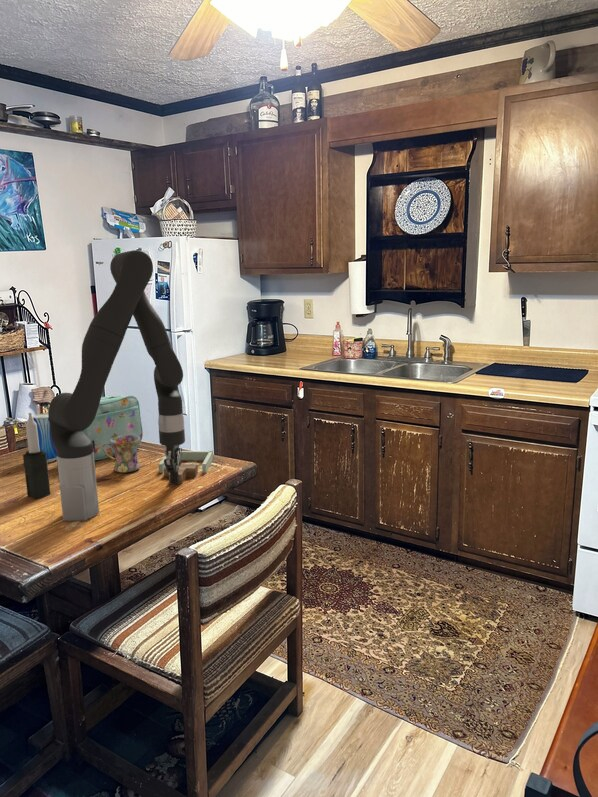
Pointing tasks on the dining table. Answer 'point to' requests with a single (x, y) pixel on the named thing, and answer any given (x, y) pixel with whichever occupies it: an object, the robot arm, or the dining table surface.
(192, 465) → the t block
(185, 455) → the bay
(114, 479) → the dining table surface
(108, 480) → the dining table surface
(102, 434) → the lunch box
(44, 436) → the beer can
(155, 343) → the robot arm
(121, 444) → the mug
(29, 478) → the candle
